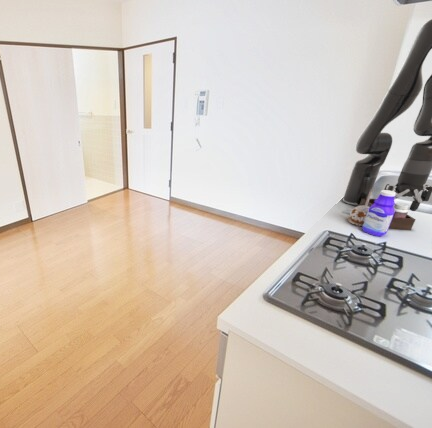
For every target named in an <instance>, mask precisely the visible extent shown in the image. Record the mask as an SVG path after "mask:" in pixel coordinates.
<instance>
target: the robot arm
mask: <svg viewBox="0 0 432 428" xmlns="http://www.w3.org/2000/svg"><path fill="white" fill-rule="evenodd" d="M431 50H432V18H431V19H429V20H428V21H426V23H424V25H422V27H421V28H420V29H419V31H418V32H417V34H416V36H415V38H414V40H413V42H412V44H411V46H410V48H409V51H408V53H407V55H406V58H405V59H404V62H403V64H402V66H401V67H400V69H399V71H398V73H397V75H396V77H395V78H394V80H393V82H392V83H391V85H390V87H388V90H387V91H386V93H385V94H384V95H385V96H384V97H383V99H382V101H381V103H380V105H379V106H378V108H377V110H376V111H375V113H374V114H373V116H372V118H371V120H370V121H369V123H368V124H367V125H366V127H365V128H364V129H363V130H362V132H361V134H360V135H359V136H358V138H357V140H356V142H355V146H354V147H355V151H356V153H357V154H359V155H366V156H365V157H363V158H360V159H358V160H356V161H355V162H354V164H353V168H352V170H351V173H350V176H349V180H348V183H347V186H346V189H345V192H344V195H343V197H342V202H343V203H345V204H347V205H351V206H354V207H358V206H359V205H360V202H361V199H362V198H366V199H367V198H368V195H369V192H370V190H374V187H375V183H376V181H377V178H378V175H379V172H380V170H381V167H382V166H383V165H384V164H385V162H386V160H387V157H388V155H389V153H390V151H391V148H392V145H393V137H392V135H391V134H390V133H389V132H382V131H383V130H384V129H385V128H386V127H387V126H388V125H389V124H390V123H391V122H393V121H394V120H395V119H397V118H398V117H400V116H401V115H402V114H404V113H405V112H406V111H407V110H408V109H409V108H411V107H412V106H413V104H414V102H415V101H416V99H417V98H418V96H419V95H420V93H421V91H423V92H422V103H421V107H420V109H419V112H418V114H417V116H416V118H415V120H414V123H413V126H412V127H413V132H414V134H415V135H416V136H418V137H428V138H426V139H425V140H423V141H418V142H415V143H414V144H413V145H412V146H411V148H410V151H409V153H408V156H407V158H406V160H405V162H403V163H404V164H403V167H402V168H401V170H400V173H399V176H398V178H397V183H396V184H391V183H387V184H386V185H385V186H384V189H383V190H390V191H394V192H396V194H395V197H394V201H396V200H397V199H400V198H401V197H408V198H409V197H410V198H412V199H413V200H412V201H411V203H410V205H409V210H410V211H411V212H416V211H417V210H418V209H419V207H420V206H421V203H423V202H428V201H429V200H430V197H431V195H432V186H431V185H429V184H426V183H427V181H428V179H429V177H430V174H431V172H432V73H431V74H430V76H429V77H428V78H427V80H426V82H425V84H424V80H423V65H424V62H425V60H426V58H427V56H428V54H429V53H430V52H431ZM423 84H424V87H423ZM422 89H423V90H422ZM420 192H421V193H420Z"/></svg>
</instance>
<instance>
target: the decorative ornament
mask: <svg viewBox="0 0 432 428" xmlns="http://www.w3.org/2000/svg"><path fill="white" fill-rule="evenodd" d="M373 191H374V189H372V190H370V192H369V195H368V198H367V201H366V203H365V205H362V206H354V207H353V208H352V209H351V210H350V213H349V217H348V219H347V221H348V222H349V223H351V224H352V225H356V226H360V227H363V224H364V221H365V218H366V215H367V212H368V210H369V208H370V207H369V206H367V205H368V203H369V200H370V199H371V197H372V195H373Z"/></svg>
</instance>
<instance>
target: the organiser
mask: <svg viewBox="0 0 432 428" xmlns="http://www.w3.org/2000/svg"><path fill="white" fill-rule="evenodd" d="M376 199H377V198H370V200H369V203H368V205H367V206H369V207H371V206H372V205H373V204H374V203H375V202H374V201H375V200H376ZM366 201H367V199H366V198H362V199H361V202H360V205H359V206H362V205H365V203H366ZM393 207H394V206H393ZM415 223H416V218H414V217H412V216H411V215H410V214H407V215H406V218H392V221H391V223H390V226H389V228H388V230H399V231H412V229H413V226H414V224H415Z"/></svg>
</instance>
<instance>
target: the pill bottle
mask: <svg viewBox="0 0 432 428" xmlns="http://www.w3.org/2000/svg"><path fill="white" fill-rule="evenodd" d="M408 209H410V205H409V204H407V203H405V202H404V203H403V202H395V205H394V211H395V213H394V216H393V218H406V215H408V213H409V210H408Z"/></svg>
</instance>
